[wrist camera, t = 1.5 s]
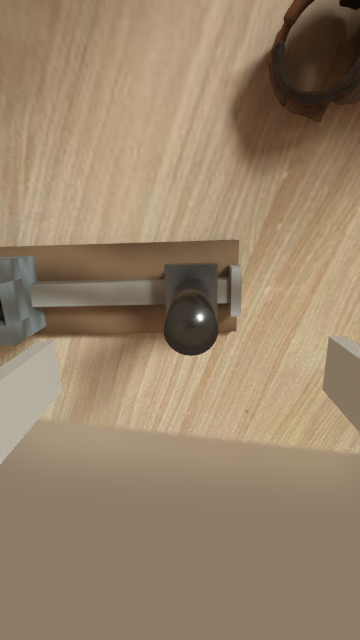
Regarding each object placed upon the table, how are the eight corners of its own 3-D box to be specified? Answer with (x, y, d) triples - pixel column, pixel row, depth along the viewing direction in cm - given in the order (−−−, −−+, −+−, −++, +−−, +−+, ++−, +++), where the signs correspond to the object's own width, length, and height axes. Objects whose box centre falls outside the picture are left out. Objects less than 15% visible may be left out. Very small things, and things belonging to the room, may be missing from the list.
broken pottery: (364, 134, 28) (361, 122, 21) (270, 122, 31) (244, 109, 25) (443, -56, 21) (472, -152, 15) (314, -43, 25) (294, -117, 19)
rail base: (2, 247, 32) (-49, 250, 25) (237, 239, 30) (250, 241, 24) (19, 331, 35) (-22, 355, 28) (234, 328, 33) (245, 352, 27)
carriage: (167, 262, 30) (148, 283, 17) (214, 260, 30) (232, 281, 17) (169, 316, 32) (153, 374, 19) (214, 315, 31) (230, 373, 18)
